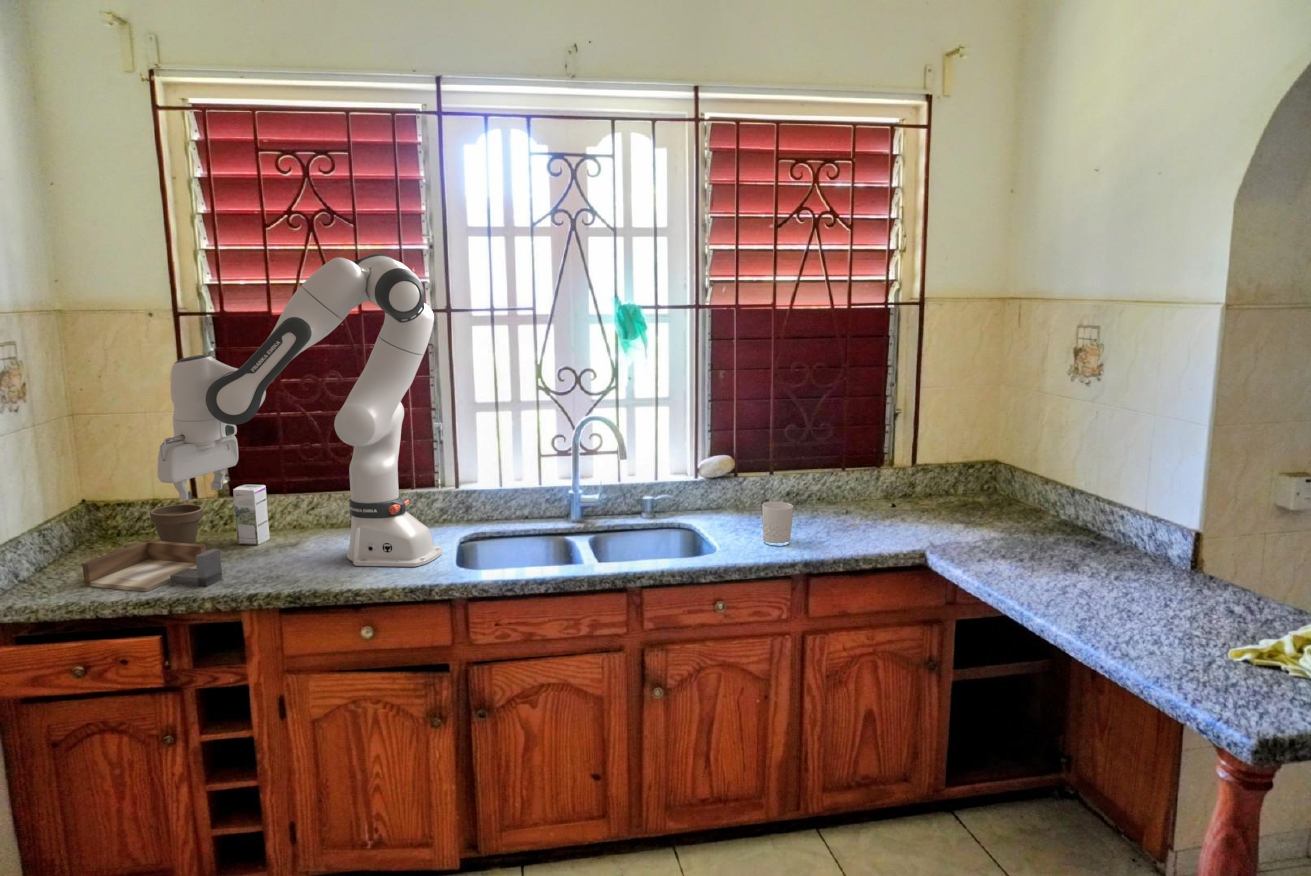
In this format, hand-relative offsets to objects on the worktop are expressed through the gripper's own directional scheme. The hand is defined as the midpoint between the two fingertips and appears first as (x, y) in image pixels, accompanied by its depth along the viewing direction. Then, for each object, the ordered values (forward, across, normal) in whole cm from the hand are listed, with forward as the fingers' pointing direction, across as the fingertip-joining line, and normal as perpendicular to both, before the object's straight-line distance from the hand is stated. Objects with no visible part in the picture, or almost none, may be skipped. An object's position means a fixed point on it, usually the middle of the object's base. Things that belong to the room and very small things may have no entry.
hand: (201, 494), depth 187 cm
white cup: (+18, +60, -120) cm, 135 cm away
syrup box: (+20, +29, +10) cm, 37 cm away
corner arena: (+20, +1, +16) cm, 26 cm away
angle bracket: (+20, 0, +3) cm, 20 cm away
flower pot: (+20, +20, +24) cm, 38 cm away
